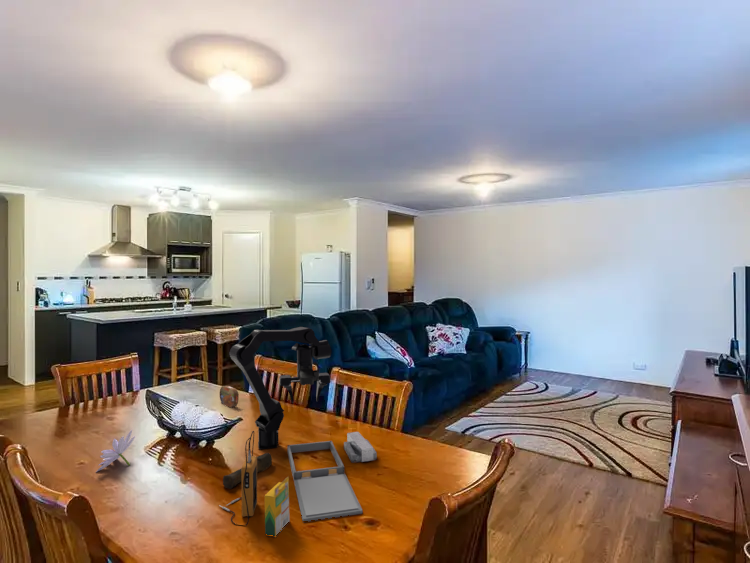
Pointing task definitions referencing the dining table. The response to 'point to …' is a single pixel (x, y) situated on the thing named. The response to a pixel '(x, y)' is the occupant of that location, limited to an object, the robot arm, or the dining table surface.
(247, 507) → the multimeter
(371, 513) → the dining table surface
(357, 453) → the white square bar
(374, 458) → the stay bracket
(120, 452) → the lavender daisy flower
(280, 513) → the crayon box
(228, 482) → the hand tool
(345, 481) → the case
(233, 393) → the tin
